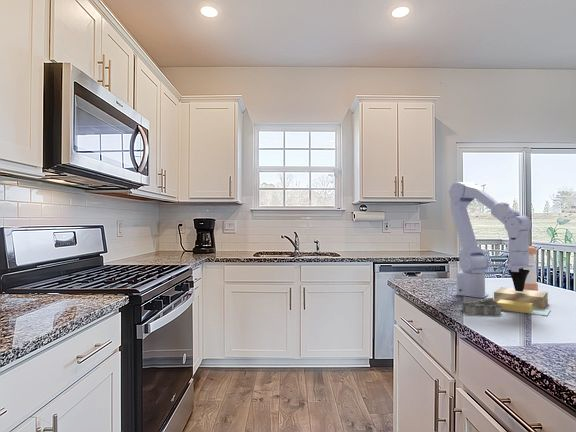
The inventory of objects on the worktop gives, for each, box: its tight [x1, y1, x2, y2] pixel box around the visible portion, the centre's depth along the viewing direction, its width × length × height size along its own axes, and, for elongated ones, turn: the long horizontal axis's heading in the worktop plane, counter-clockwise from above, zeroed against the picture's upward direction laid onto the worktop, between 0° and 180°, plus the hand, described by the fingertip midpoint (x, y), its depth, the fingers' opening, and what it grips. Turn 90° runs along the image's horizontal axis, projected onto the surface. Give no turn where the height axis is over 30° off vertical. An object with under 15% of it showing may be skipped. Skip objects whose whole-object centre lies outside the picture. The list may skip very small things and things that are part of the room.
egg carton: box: [460, 297, 502, 316], centre depth 117 cm, size 11×8×4 cm
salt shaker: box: [523, 245, 539, 291], centre depth 149 cm, size 7×7×19 cm
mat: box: [501, 308, 551, 317], centre depth 119 cm, size 18×8×1 cm, turn 49°
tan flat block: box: [493, 287, 549, 309], centre depth 127 cm, size 14×12×4 cm
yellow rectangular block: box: [497, 299, 533, 314], centre depth 118 cm, size 9×6×2 cm, turn 49°
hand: (519, 291), depth 126 cm, fingers closed
